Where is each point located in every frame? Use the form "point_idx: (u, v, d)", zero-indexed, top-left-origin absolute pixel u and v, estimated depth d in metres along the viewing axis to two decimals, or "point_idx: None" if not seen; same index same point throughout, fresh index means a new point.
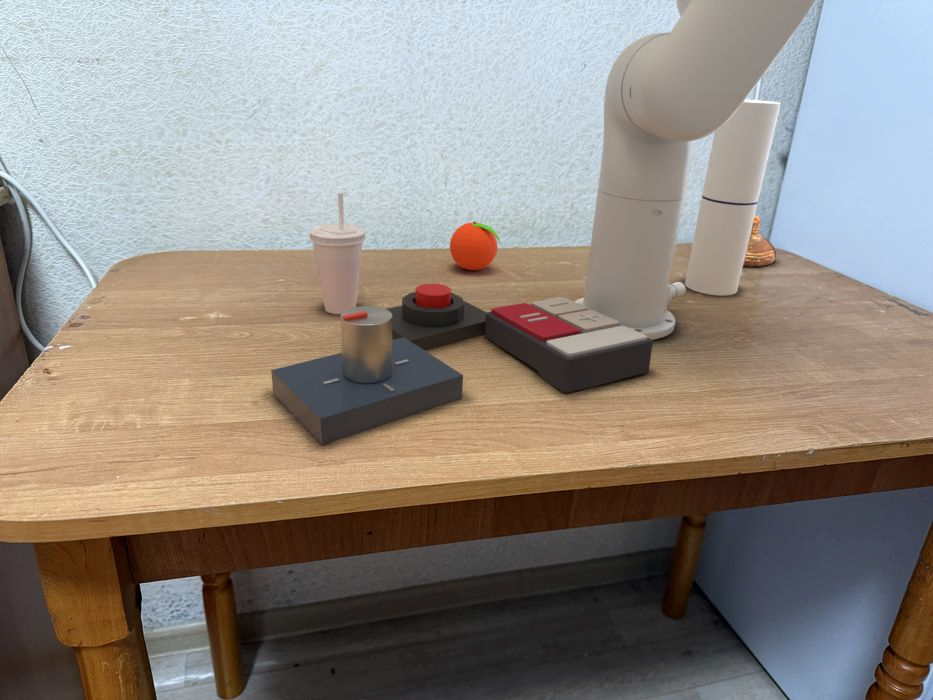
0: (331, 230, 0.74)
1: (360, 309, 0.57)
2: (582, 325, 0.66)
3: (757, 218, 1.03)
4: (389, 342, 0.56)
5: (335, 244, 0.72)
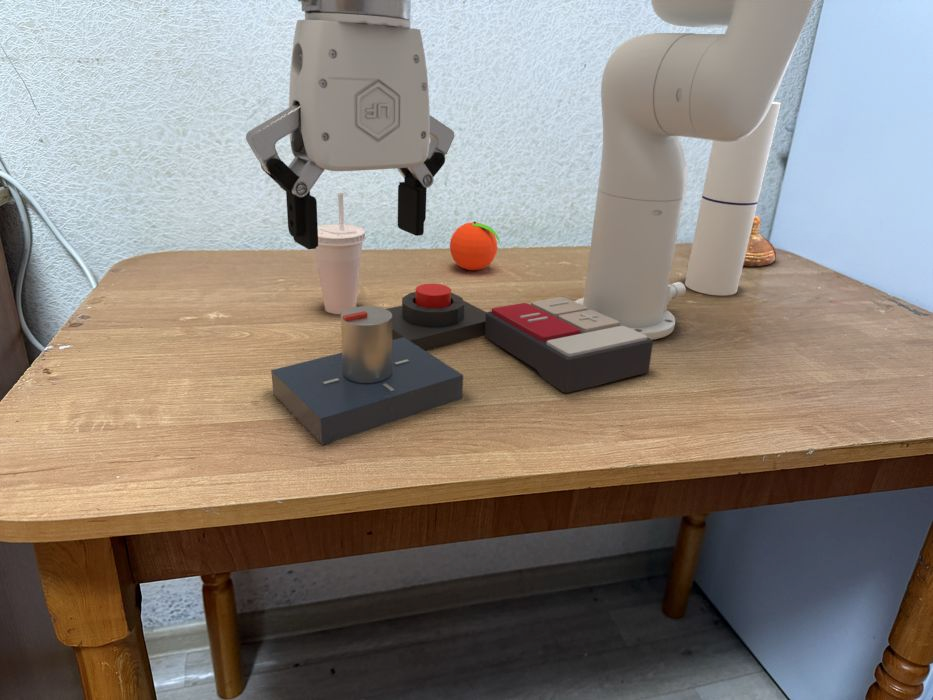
0: (331, 230, 0.74)
1: (360, 309, 0.57)
2: (582, 325, 0.66)
3: (757, 218, 1.03)
4: (389, 342, 0.56)
5: (335, 244, 0.72)
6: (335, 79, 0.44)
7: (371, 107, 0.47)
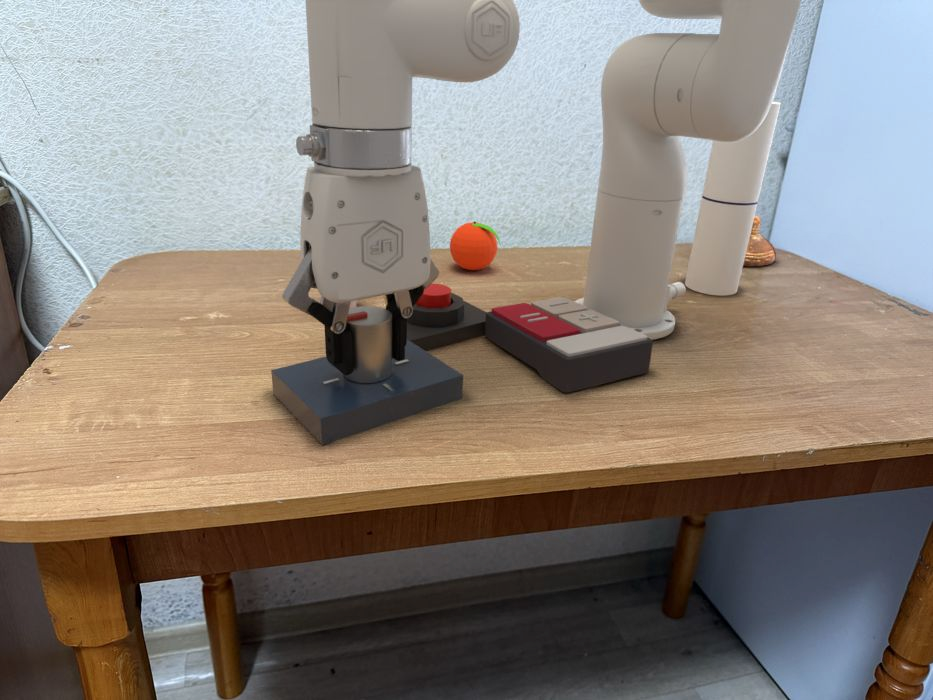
0: None
1: (360, 309, 0.57)
2: (582, 325, 0.66)
3: (757, 218, 1.03)
4: (389, 342, 0.56)
5: None
6: (343, 225, 0.48)
7: (376, 244, 0.50)
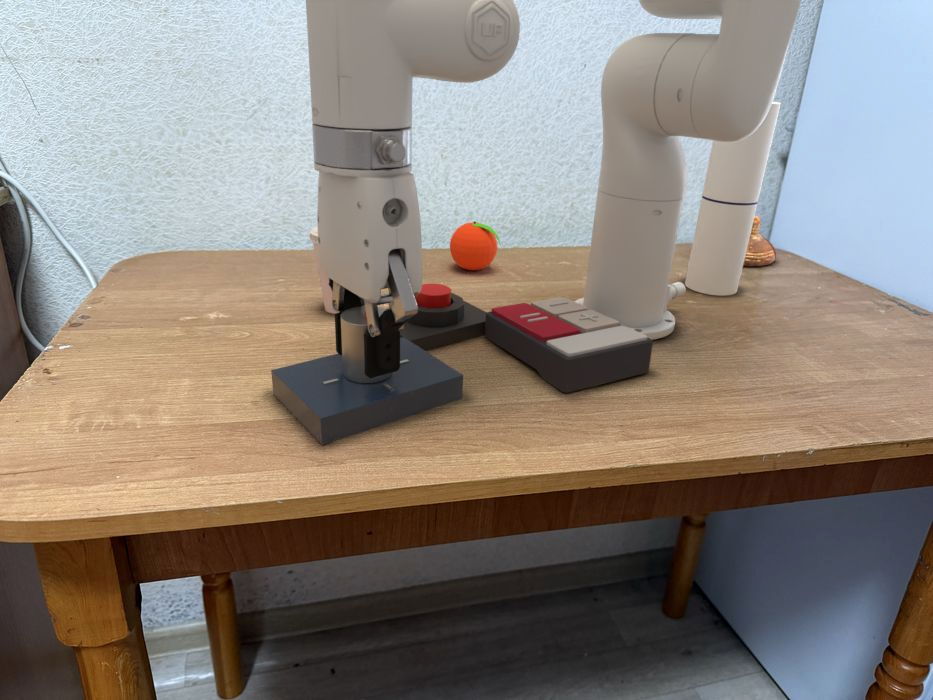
0: None
1: (350, 317, 0.55)
2: (582, 325, 0.66)
3: (757, 218, 1.03)
4: None
5: None
6: None
7: None
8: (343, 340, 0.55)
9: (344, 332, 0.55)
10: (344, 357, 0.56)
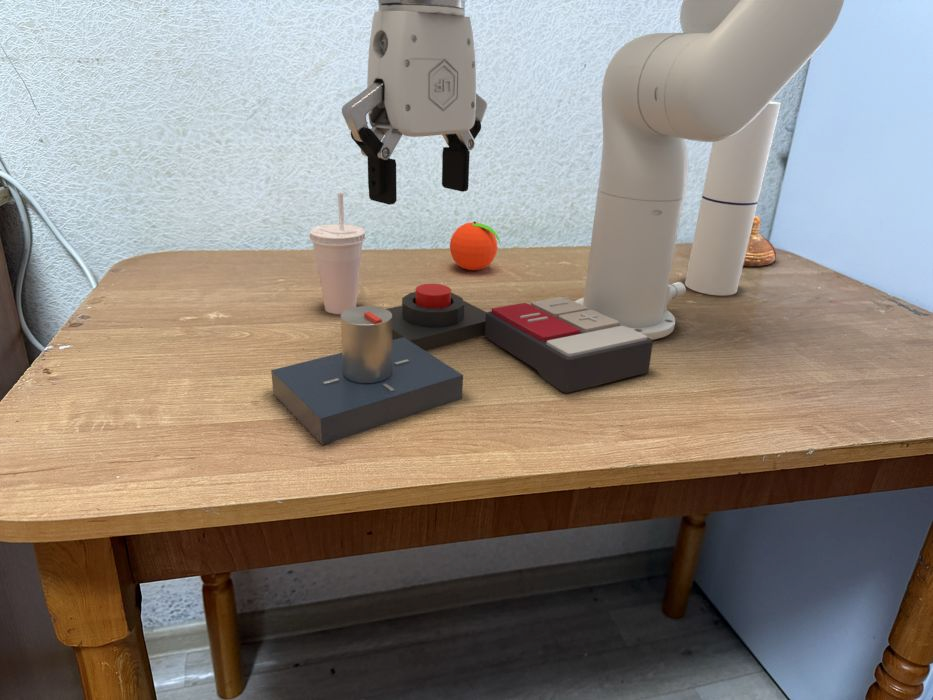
0: (331, 230, 0.74)
1: (350, 317, 0.55)
2: (582, 325, 0.66)
3: (757, 218, 1.03)
4: None
5: (335, 244, 0.72)
6: (415, 59, 0.54)
7: (439, 82, 0.57)
8: (343, 340, 0.55)
9: (344, 332, 0.55)
10: (344, 357, 0.56)
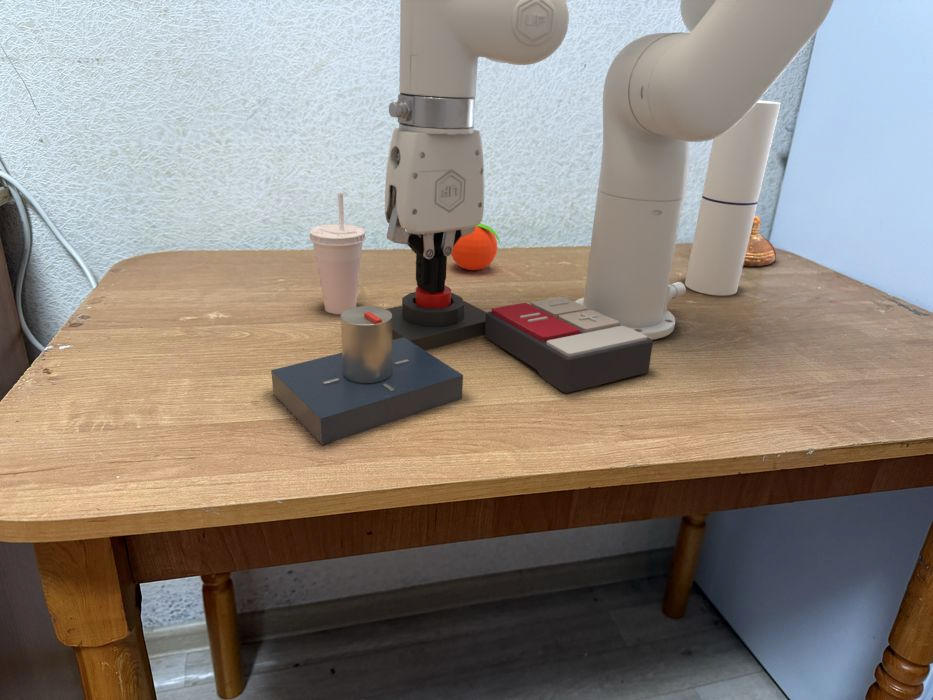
0: (331, 230, 0.74)
1: (350, 317, 0.55)
2: (582, 325, 0.66)
3: (757, 218, 1.03)
4: None
5: (335, 244, 0.72)
6: (423, 172, 0.63)
7: (445, 189, 0.65)
8: (343, 340, 0.55)
9: (344, 332, 0.55)
10: (344, 357, 0.56)
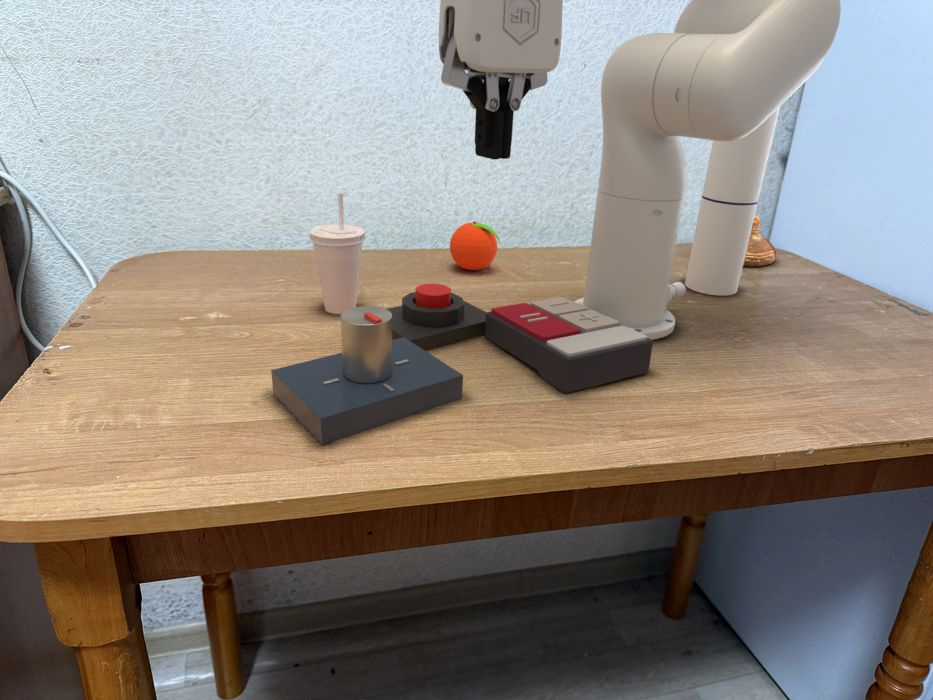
0: (331, 230, 0.74)
1: (350, 317, 0.55)
2: (582, 325, 0.66)
3: (757, 218, 1.03)
4: None
5: (335, 244, 0.72)
6: None
7: (516, 11, 0.51)
8: (343, 340, 0.55)
9: (344, 332, 0.55)
10: (344, 357, 0.56)
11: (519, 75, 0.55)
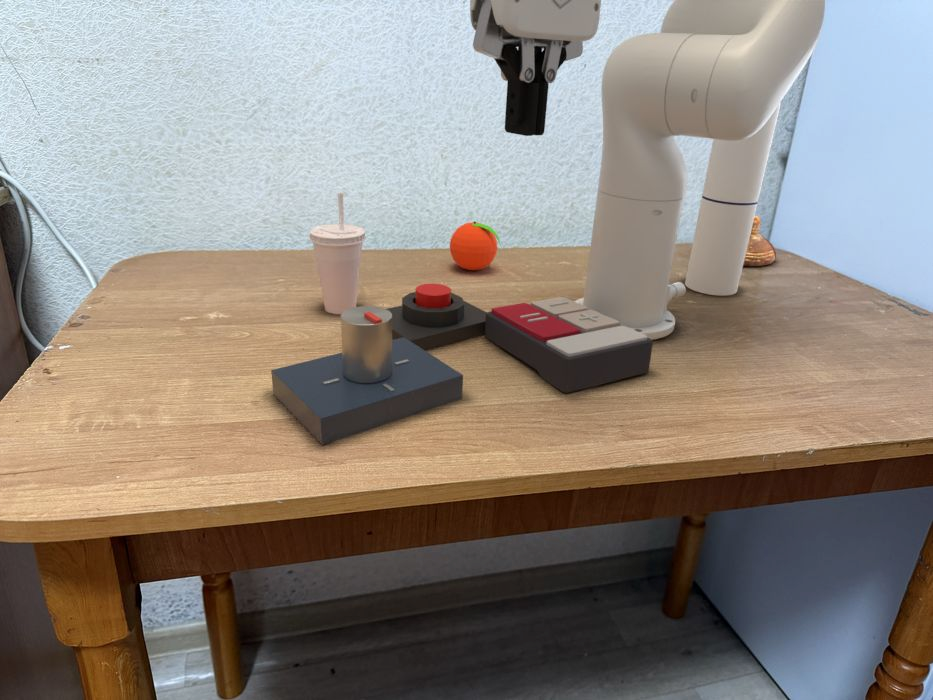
0: (331, 230, 0.74)
1: (350, 317, 0.55)
2: (582, 325, 0.66)
3: (757, 218, 1.03)
4: None
5: (335, 244, 0.72)
6: None
7: None
8: (343, 340, 0.55)
9: (344, 332, 0.55)
10: (344, 357, 0.56)
11: (555, 43, 0.51)
